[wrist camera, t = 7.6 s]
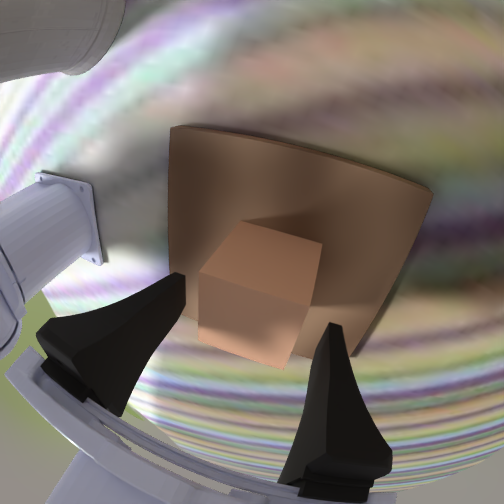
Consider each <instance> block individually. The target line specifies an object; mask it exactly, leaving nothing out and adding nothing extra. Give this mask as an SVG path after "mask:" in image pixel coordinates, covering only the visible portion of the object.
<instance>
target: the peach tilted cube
mask: <svg viewBox="0 0 504 504" xmlns="http://www.w3.org/2000/svg"><path fill="white" fill-rule="evenodd" d="M321 250H322V244H321V243H318V242H314V241H311V240H308V239H304V238H301V237H297V236H294V235H290V234H287V233H283V232H280V231H276V230H272V229H269V228H265V227H262V226H258V225H254V224H251V223H247V222H243V221H240V222H239V223H238V224H237V225H236V227H235V228H234V229H233V230H232V231H231V233H230V234H229V235H228V236H227V238H226V239H225V240H224V241H223V242H222V244H221V245H220V246H219V247H218V248H217V250H216V251H215V252H214V253H213V255H212V256H211V257H210V258H209V259H208V261H207V262H206V263H205V264H204V266H203V267H202V268H201V269H200V271H199V285H198V340H199V341H201V342H204V343H206V344H209V345H212V346H214V347H217V348H220V349H222V350H225V351H228V352H230V353H233V354H236V355H239V356H242V357H245V358H248V359H251V360H254V361H257V362H260V363H263V364H266V365H269V366H272V367H276V368H279V369H282V370H284V368H285V366H286V363H287V361H288V359H289V357H290V354H291V352H292V350H293V347H294V345H295V342H296V340H297V338H298V335H299V333H300V330H301V328H302V325H303V323H304V320H305V318H306V315H307V313H308V310H309V308H310V304H311V299H312V295H313V290H314V285H315V280H316V276H317V271H318V265H319V260H320V255H321Z"/></svg>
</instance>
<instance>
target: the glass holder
mask: <svg viewBox="0 0 504 504" xmlns="http://www.w3.org/2000/svg"><path fill="white" fill-rule="evenodd" d="M125 5H126V0H0V83H3V82H7V81H11V80H15V79H20V78H24V77H29V76H35V75H41V74H47V73H54V72H63V73H65V74H67V75H80V74H83V73H85V72H86V71H88V70H90V69H91V68H92V67H93V66H95V65H96V64H97V63H98V62H99V61H100V60H101V58H102V57H103V56H104V54H105V53H106V52H107V50H108V49H109V47H110V46H111V44H112V43H113V41H114V39H115V37H116V35H117V33H118V30H119V28H120V25H121V22H122V19H123V15H124V11H125Z"/></svg>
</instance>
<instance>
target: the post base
mask: <svg viewBox="0 0 504 504" xmlns="http://www.w3.org/2000/svg"><path fill="white" fill-rule="evenodd" d="M433 195H434V194H433V193H432V192H431V191H430V189H429V188H427V187H424V186H422V185H419V184H417V183H414V182H412V181H409V180H407V179H404V178H401V177H399V176H396V175H393V174H390V173H388V172H385V171H382V170H379V169H376V168H373V167H370V166H367V165H364V164H361V163H358V162H355V161H351V160H348V159H345V158H341V157H338V156H334V155H331V154H327V153H324V152H320V151H316V150H312V149H308V148H304V147H300V146H296V145H292V144H288V143H283V142H279V141H274V140H269V139H265V138H260V137H254V136H249V135H244V134H238V133H232V132H226V131H219V130H213V129H205V128H198V127H190V126H181V125H180V126H175V127H171V128H170V145H169V169H168V245H169V270H170V274H172V273H174V272H177V273H180V274H183V275H186V306H185V308H184V310H183V311H182V313H181V315H184V316H186V317H189V318H191V319H194V320H196V321H198V285H199V271H200V269H201V268H202V267H203V266H204V264H205V263H206V262H207V261H208V259H209V258H210V257H211V256H212V255H213V253H214V252H215V251H216V250H217V248H218V247H219V246H220V245H221V244H222V242H223V241H224V240H225V239H226V238H227V236H228V235H229V234H230V233H231V231H232V230H233V229H234V228H235V227H236V225H237V224H238V223H239V222H240V221H243V222H247V223H251V224H254V225H258V226H262V227H265V228H269V229H272V230H276V231H280V232H283V233H287V234H290V235H294V236H297V237H301V238H304V239H308V240H311V241H314V242H318V243H321V244H322V250H321V255H320V260H319V265H318V271H317V276H316V280H315V285H314V290H313V295H312V299H311V304H310V308H309V310H308V313H307V315H306V318H305V320H304V323H303V325H302V328H301V330H300V333H299V335H298V338H297V340H296V342H295V345H294V347H293V350H292V352H291V353H292V354H296V355H299V356H302V357H306V358H310V359H313V357H314V353H315V350H316V347H317V345H318V343H319V341H320V339H321V337H322V335H323V333H324V331H325V329H326V327H327V325H328V323H329V322H332V323H335V324H339V325H342V327H343V333H344V338H345V343H346V347H347V352H348V356H349V357H350V355H351V354H352V352H353V351H354V349H355V348H356V346H357V345H358V343H359V342H360V340H361V339H362V337H363V335H364V334H365V332H366V331H367V329H368V327H369V326H370V324H371V323H372V321H373V319H374V318H375V316H376V314H377V313H378V311H379V309H380V307H381V306H382V304H383V302H384V300H385V299H386V297H387V295H388V293H389V291H390V289H391V288H392V286H393V284H394V282H395V280H396V278H397V276H398V274H399V272H400V270H401V268H402V266H403V264H404V262H405V260H406V258H407V256H408V254H409V252H410V250H411V248H412V246H413V243H414V241H415V239H416V237H417V234H418V232H419V230H420V228H421V225H422V223H423V220H424V218H425V216H426V213H427V211H428V208H429V206H430V203H431V200H432V198H433Z"/></svg>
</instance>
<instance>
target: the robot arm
mask: <svg viewBox="0 0 504 504" xmlns="http://www.w3.org/2000/svg"><path fill="white" fill-rule="evenodd" d="M35 182H36V183H34V184H32V185H30V186H28V187H26V188H25V189H23V190H21V191H19V192H17V193H15V194H13V195H12V196H10V197H8V198H6V199H5V200H3V201H1V202H0V360H1V359H3V358H4V357H5V356H7V354H9V353H10V352H11V350H12V349H13V348H14V346H15V344H16V343H17V340H18V339H19V336H20V333H21V329H22V320H21V318H22V317H23V316H24V315H25V314H26V313H27V311H26V309H25V307H24V304H25V303H26V302H27V301H29V300H30V299H31V298H32V297H33V296H34V295H35V294H36V293H37V292H39V291H40V290H41V289H42V288H43V287H44V286H46V285H47V284H48V283H49V282H50V281H51V280H53V279H54V278H55V277H56V276H57V275H58V274H60V273H61V272H62V271H63V270H65V269H66V268H67V267H68V266H69V265H71V264H72V263H73V262H74V261H76V260H77V259H78V258H80V257H81V258H83V259H85V260H87V261H89V262H92V263H94V264H96V265H98V266H101V265H102V264H103V257H102V252H101V247H100V241H99V236H98V229H97V223H96V216H95V209H94V201H93V192H92V187H91V185H90V184H89V183H86V182H82V181H77V180H73V179H68V178H64V177H59V176H55V175H50V174H46V173H41V172H37V173H36V174H35ZM185 306H186V275H183V274H180V273H177V272H174V273H172V274H170V275H168V276H166V277H165V278H163V279H161V280H159V281H157V282H156V283H154V284H152V285H150V286H149V287H147V288H145V289H143V290H141V291H139V292H137V293H135V294H133V295H131V296H129V297H127V298H125V299H123V300H121V301H118V302H116V303H113V304H111V305H108V306H105V307H102V308H99V309H96V310H92V311H89V312H85V313H81V314H76V315H71V316H64V317H56V318H50V319H49V320H48V321H47V322H46V323H45V324H44V325H43V326H42V327H41V328H40V329H39V331H37V333H36V337H37V340H38V342H39V343H40V345H41V347H42V348H43V350H44V351H45V353H46V354H47V356H48V358H47V359H46V360H44V358H43V357H42V356H41V355H40V354H39V353H38V352H36V351H35V350H34V349H33V348H32V347H31V346H29V347H28V348H27V349H26V350H25V351H24V352H23V353H22V354H21V355H20V357H19V358H18V359H17V360H16V361H15V362H14V364H13V365H12V366H11V367H10V368H9V369H8V370H7V371H6V373H5V377H6V378H7V379H8V380H9V381H10V382H11V384H12V385H13V386H14V387H15V388H16V389H17V390H18V392H19V393H20V394H21V395H22V396H23V397H24V398H25V399H26V400H27V401H28V402H29V403H30V404H31V405H32V406H33V408H34V409H36V411H37V412H38V413H39V414H40V415H41V416H42V417H43V418H44V419H46V420H47V421H48V422H49V423H50V424H51V425H52V426H53V427H54V428H55V429H57V430H58V431H59V432H60V433H61V434H62V435H63V436H64V437H66V438H67V439H68V440H69V441H70V442H72V443H73V444H74V445H75V446H77V447H78V448H79V449H80V450H79V451H78V453H77V454H76V456H75V458H74V459H73V460H72V462H71V463H70V465H69V467H68V468H67V470H66V471H65V473H64V474H63V476H62V477H61V479H60V481H59V482H58V484H57V485H56V487H55V488H54V490H53V491H52V493H51V495H50V496H49V498H48V499H47V501H46V502H45V504H396V498H397V493H396V492H373V493H369V489H370V488H371V487H373V484H374V480H375V479H378V478H380V477H383V476H385V475H387V474H389V473H390V472H391V470H392V460H393V457H392V450H391V448H390V447H389V445H388V444H387V443H386V441H385V440H384V438H383V437H382V435H381V434H380V432H379V430H378V429H377V427H376V425H375V423H374V421H373V420H372V418H371V416H370V414H369V412H368V410H367V408H366V406H365V403H364V401H363V399H362V396H361V394H360V391H359V389H358V386H357V383H356V380H355V377H354V374H353V370H352V367H351V363H350V360H349V356H348V352H347V347H346V343H345V338H344V333H343V327H342V325H339V324H335V323H332V322H329V323H328V325H327V327H326V329H325V331H324V333H323V335H322V337H321V339H320V341H319V343H318V345H317V347H316V350H315V353H314V357H313V361H312V365H311V370H310V376H309V382H308V388H307V394H306V400H305V406H304V410H303V414H302V418H301V421H300V424H299V427H298V430H297V433H296V436H295V439H294V442H293V445H292V448H291V450H290V453H289V456H288V458H287V461H286V463H285V466H284V468H283V470H282V473H281V475H280V477H279V479H278V482H277V483H275V482H271V481H267V480H263V479H259V478H255V477H252V476H248V475H245V474H242V473H239V472H235V471H232V470H229V469H226V468H224V467H221V466H218V465H215V464H212V463H210V462H207V461H205V460H202V459H200V458H197V457H195V456H192V455H190V454H188V453H185V452H183V451H181V450H178V449H176V448H174V447H172V446H170V445H168V444H166V443H164V442H162V441H160V440H158V439H156V438H154V437H152V436H150V435H148V434H146V433H144V432H143V431H141V430H139V429H137V428H135V427H133V426H131V425H130V424H128V423H127V422H125V421H123V420H122V419H120V418H118V417H121V416H122V414H123V412H124V409H125V407H126V404H127V402H128V400H129V397H130V395H131V393H132V391H133V389H134V387H135V385H136V383H137V381H138V379H139V377H140V375H141V373H142V371H143V369H144V368H145V366H146V364H147V362H148V361H149V359H150V357H151V356H152V354H153V353H154V351H155V350H156V349H157V347H158V346H159V345H160V343H161V342H162V341H163V339H164V338H165V337H166V335H167V334H168V333H169V331H170V330H171V328H172V327H173V326H174V324H175V323H176V322H177V320H178V318H179V317H180V315H181V313H182V311H183V310H184V308H185ZM103 424H104V425H105V426H107V427H108V428H110V429H112V430H113V431H115V432H116V433H118V434H119V435H121V436H122V437H124V438H126V439H127V440H129V441H131V442H133V443H134V444H136V445H138V446H140V447H142V448H143V449H145V450H147V451H149V452H151V453H153V454H155V455H157V456H159V457H161V458H163V459H165V460H167V461H169V462H171V463H173V464H175V465H178V466H180V467H182V468H184V469H187V470H189V471H191V472H194V473H196V474H199V475H202V476H204V477H207V478H209V479H212V480H215V481H218V482H221V483H223V484H226V485H230V486H233V487H236V488H239V489H242V490H246V491H250V492H246V491H241V490H237V489H232V490H231V492H230V493H229V495H227V494H224V493H221V492H219V491H216V490H213V489H211V488H208V487H206V486H203V485H201V484H198V483H196V482H194V481H191V480H189V479H187V478H184V477H182V476H180V475H178V474H176V473H174V472H172V471H170V470H167V469H165V468H163V467H161V466H159V465H157V464H155V463H153V462H151V461H149V460H148V459H146V458H144V457H142V456H140V455H138V454H136V453H134V452H133V451H131V448H130V447H128V446H127V445H126V444H125V443H124V442H123V441H122V440H121V439H120V437H119V436H117V435H116V434H114V433H113V432H112V431H110V430H109V429H108V428H106V427H105V426H104V425H103ZM251 492H253V493H251ZM256 493H257V494H256ZM260 494H261V495H260ZM263 495H265V496H263Z"/></svg>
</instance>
